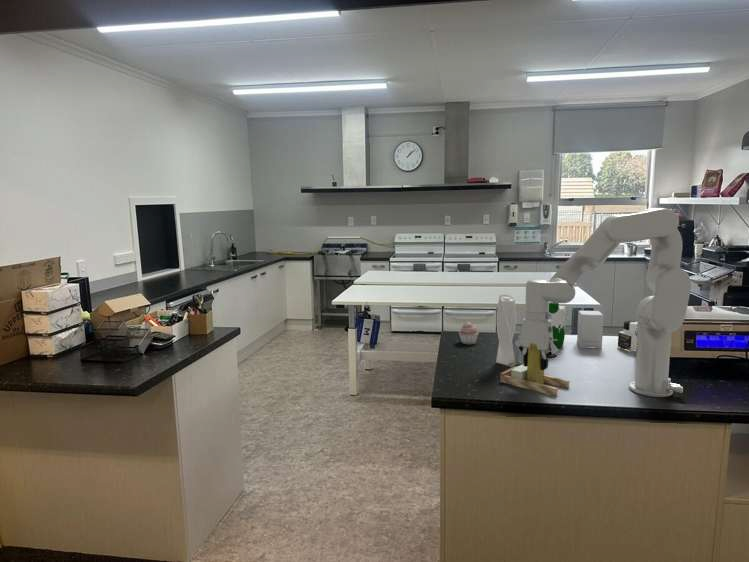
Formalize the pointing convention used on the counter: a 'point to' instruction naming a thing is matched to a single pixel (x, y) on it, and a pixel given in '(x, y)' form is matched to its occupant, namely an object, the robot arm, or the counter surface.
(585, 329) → the supplement box
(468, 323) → the cupcake
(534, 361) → the vase
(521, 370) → the block
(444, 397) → the counter surface
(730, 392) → the counter surface
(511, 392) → the counter surface
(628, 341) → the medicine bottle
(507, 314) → the skyscraper
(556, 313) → the milk carton
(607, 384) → the counter surface
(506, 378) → the track
